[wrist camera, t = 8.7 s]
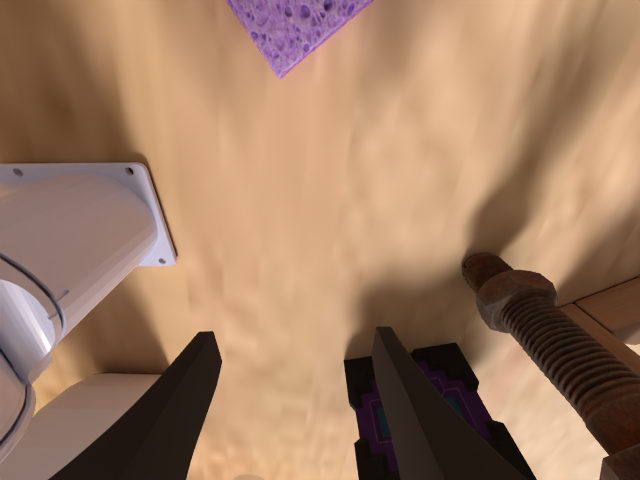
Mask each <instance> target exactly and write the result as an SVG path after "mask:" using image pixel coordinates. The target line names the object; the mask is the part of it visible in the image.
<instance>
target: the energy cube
mask: <svg viewBox="0 0 640 480" xmlns="http://www.w3.org/2000/svg"><path fill="white" fill-rule="evenodd" d="M411 357H412V359H413V360H414V361H415V363H416V364H417V365H418V367H419V368H420V369H421V371H422V372H423V373H424V375H425V376H426V377H427V378H428V380H429V381H430V382H431V383H432V385H433V386H434V387H435V388H436V389H437V391H438V392H439V393H440V394H441V395H442V396H443V398H444V399H445V400H446V401H447V402H448V403H449V404H450V405H451V407H452V408H453V409H454V410H455V411H456V412H457V413H458V414H459V415H460V416H461V417H462V418H463V419H464V420H465V422H466V423H467V424H468V425H469V426H470V427H471V428H472V429H473V430H474V431H475V432H476V433H477V434H478V435H479V436H480V437H481V438H482V439H484V440H485V441H486V442H487V443H488V444H489V445H490V446H491V447H492V448H493V449H494V450H495V451H496V452H497V453H498V454H499V455H501V456H502V457H503V458H504V459H505V460H506V461H507V462H508V463H509V464H510V465H511V466H513V467H514V468H515V469H516V470H517V471H518V472H519V473H520V474H522V475H523V476H524V477H525V478H526V479H527V480H537V479H536V477H535V476H534V474H533V472H532V471H531V469H530V467H529V466H528V464H527V462H526V460H525V459H524V457H523V455H522V454H521V452H520V450H519V449H518V447H517V445H516V443H515V442H514V440H513V438H512V437H511V435H510V433H509V432H508V430H507V428H506V427H505V425H504V423H501V422H497V421H494V420H492V418H491V416H490V415H489V413H488V411H487V409H486V407H485V406H484V404H483V402H482V400H481V398H480V397H479V395H478V393H477V389H478V385H479V381H478V379H477V377H476V376H475V374H474V372H473V371H472V369H471V367H470V366H469V364H468V362H467V360H466V359H465V357H464V355H463V354H462V352H461V350H460V349H459V347H458V345H457V344H456V343H451V344H445V345H438V346H432V347H426V348H419V349H414V351H413V354H412V356H411ZM344 366H345V374H346V382H347V390H348V398H349V404H350V406H351V407H352V408H353V409H354V411H355V412H356V417H357V423H358V430H359V437H360V439H359V440H358V441H356V442H355V443H354V445H355V453H356V461H357V469H358V477H359V480H401V479H400V474H399V469H398V464H397V459H396V454H395V449H394V445H393V441H392V437H391V433H390V430H389V426H388V423H387V419H386V415H385V412H384V408H383V405H382V401H381V398H380V394H379V390H378V387H377V383H376V378H375V373H374V367H373V361H372V356H369V357H363V358H357V359H351V360H344Z"/></svg>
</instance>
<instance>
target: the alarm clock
mask: <svg viewBox="0 0 640 480" xmlns="http://www.w3.org/2000/svg"><path fill="white" fill-rule="evenodd" d="M160 376H161V375H160V374H120V373H101V374H95V375H93V376H91V377H89V378H87V379H85V380H83V381H81V382H78V383H76V384H74V385H72V386H70V387H69V388H68V389H66V390H65V391H64V392H62V393H61V394H60V395H59V396H57V397H56V398H55V399H53V400H52V401H51V402H49V403H48V404H47V405H45V406H44V407H43V408H42V409H40V410H39V411H38V412H37V413H36V414H35V415H34V416H33V417H32V419H31V421H30V424H29V425H28V427H27V429H26V431H25V433H24V434H23V436H22V437H21V439H20V440H19V441H18V443H17V444H16V446H15V447H14V448H13V450H12V451H11V452H10V453H9V454H8V455H7V457H6V458H5V459H4V460H3V461H2V462H1V463H0V480H48V479H49V478H50V477H52V476H53V475H54V474H56V473H57V472H58V471H59V470H61V469H62V468H63V467H64V466H66V465H67V464H68V463H69V462H70V461H72V460H73V459H74V458H75V457H76V456H78V455H79V454H80V453H81V452H82V451H83V450H85V449H86V448H87V447H88V446H89V445H90V444H91V443H93V442H94V441H95V440H96V439H97V438H98V437H99V436H101V435H102V434H103V433H104V432H105V431H106V430H107V429H108V428H109V427H110V426H112V425H113V424H114V423H115V422H116V421H117V420H118V419H119V418H120V417H121V416H122V415H123V414H124V413H125V412H126V411H127V410H128V409H129V408H130V407H131V406H132V405H133V404H134V403H135V402H136V401H137V400H138V399H139V398H140V397H141V396H142V395H143V394H144V393H145V392H146V391H147V390H148V389H149V388H150V387H151V386H152V385H153V384H154V383H155V382H156V380H157V379H158V378H159V377H160Z"/></svg>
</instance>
